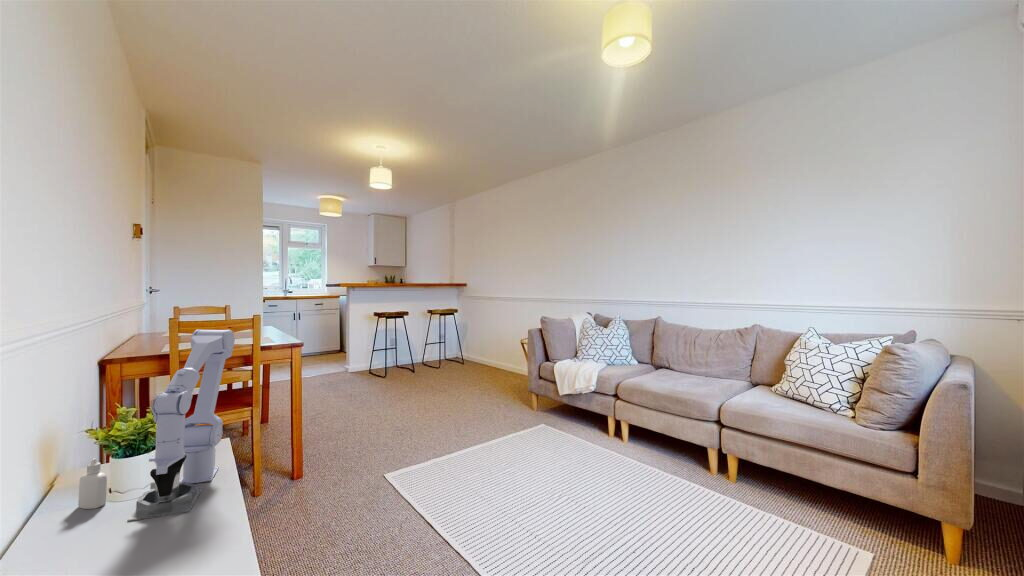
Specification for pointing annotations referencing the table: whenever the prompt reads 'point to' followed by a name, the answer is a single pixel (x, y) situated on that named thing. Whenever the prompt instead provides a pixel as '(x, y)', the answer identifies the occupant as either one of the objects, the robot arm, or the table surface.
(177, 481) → the silver short rounded cylinder
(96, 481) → the eye dropper bottle
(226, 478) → the table surface
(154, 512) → the collar
